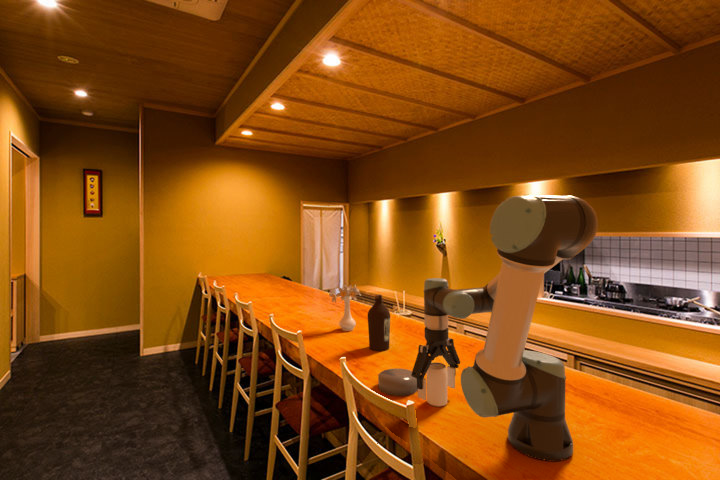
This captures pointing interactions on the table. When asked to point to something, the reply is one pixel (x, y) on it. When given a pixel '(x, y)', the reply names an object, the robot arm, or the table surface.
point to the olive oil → (379, 326)
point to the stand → (397, 382)
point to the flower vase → (346, 305)
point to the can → (437, 384)
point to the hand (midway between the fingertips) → (437, 392)
